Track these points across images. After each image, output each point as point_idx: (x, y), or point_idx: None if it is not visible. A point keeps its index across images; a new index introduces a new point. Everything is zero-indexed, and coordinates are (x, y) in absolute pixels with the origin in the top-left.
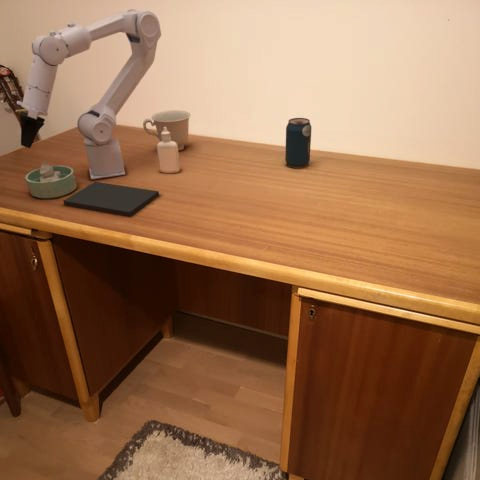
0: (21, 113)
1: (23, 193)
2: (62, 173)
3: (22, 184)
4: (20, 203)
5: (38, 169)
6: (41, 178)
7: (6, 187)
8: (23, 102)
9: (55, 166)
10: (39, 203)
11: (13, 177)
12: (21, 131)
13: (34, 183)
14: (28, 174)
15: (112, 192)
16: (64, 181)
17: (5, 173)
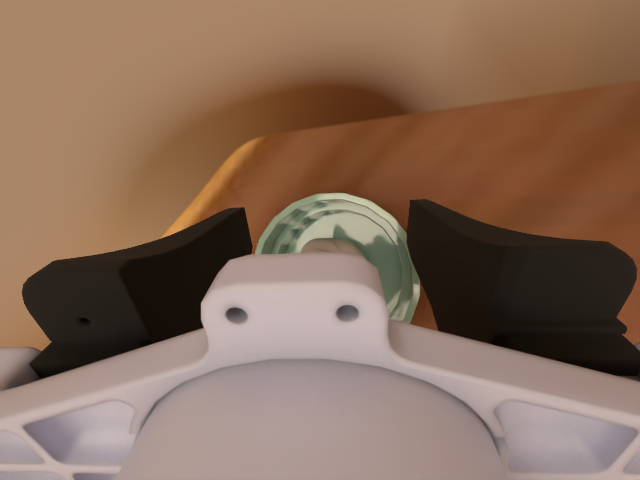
0: (95, 288)
1: (354, 176)
2: (397, 316)
3: (442, 166)
4: (279, 174)
5: (401, 238)
6: (318, 247)
7: (436, 113)
8: (199, 394)
9: (408, 304)
10: (259, 226)
11: (541, 124)
12: (180, 232)
13: (269, 225)
14: (356, 202)
15: None
16: None
17: (615, 84)
